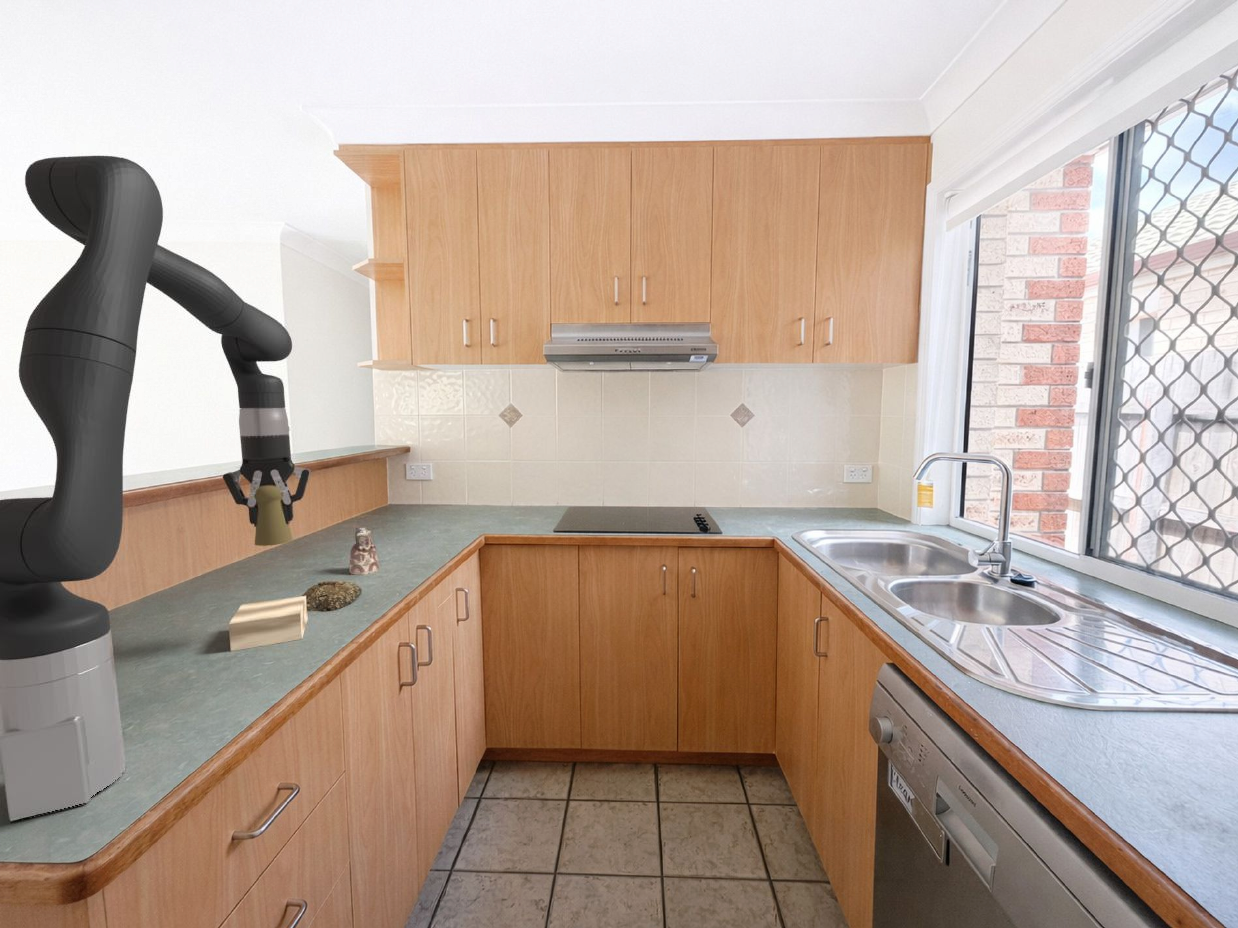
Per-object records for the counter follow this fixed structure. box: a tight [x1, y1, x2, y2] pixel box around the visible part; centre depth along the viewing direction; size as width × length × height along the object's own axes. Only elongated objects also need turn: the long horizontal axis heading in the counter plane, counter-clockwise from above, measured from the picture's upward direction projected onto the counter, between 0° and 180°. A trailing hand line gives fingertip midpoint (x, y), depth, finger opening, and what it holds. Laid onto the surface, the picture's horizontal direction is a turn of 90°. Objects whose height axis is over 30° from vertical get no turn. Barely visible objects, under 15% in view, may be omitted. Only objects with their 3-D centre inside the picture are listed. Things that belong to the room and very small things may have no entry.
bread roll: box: [301, 580, 363, 612], centre depth 120 cm, size 13×12×5 cm
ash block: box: [228, 595, 309, 652], centre depth 102 cm, size 11×11×5 cm
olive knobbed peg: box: [254, 485, 294, 547], centre depth 99 cm, size 6×6×11 cm
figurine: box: [348, 525, 380, 576], centre depth 143 cm, size 7×7×12 cm
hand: (272, 524), depth 99 cm, fingers closed on olive knobbed peg, 4 cm apart
